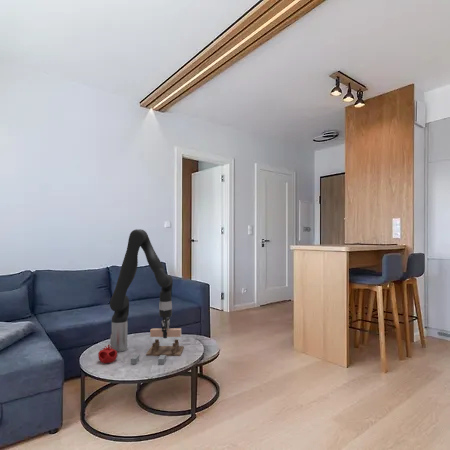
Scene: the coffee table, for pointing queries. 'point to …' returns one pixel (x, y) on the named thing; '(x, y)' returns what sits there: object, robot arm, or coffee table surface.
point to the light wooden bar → (170, 332)
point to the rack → (165, 349)
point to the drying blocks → (160, 360)
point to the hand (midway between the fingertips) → (165, 336)
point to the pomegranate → (107, 355)
